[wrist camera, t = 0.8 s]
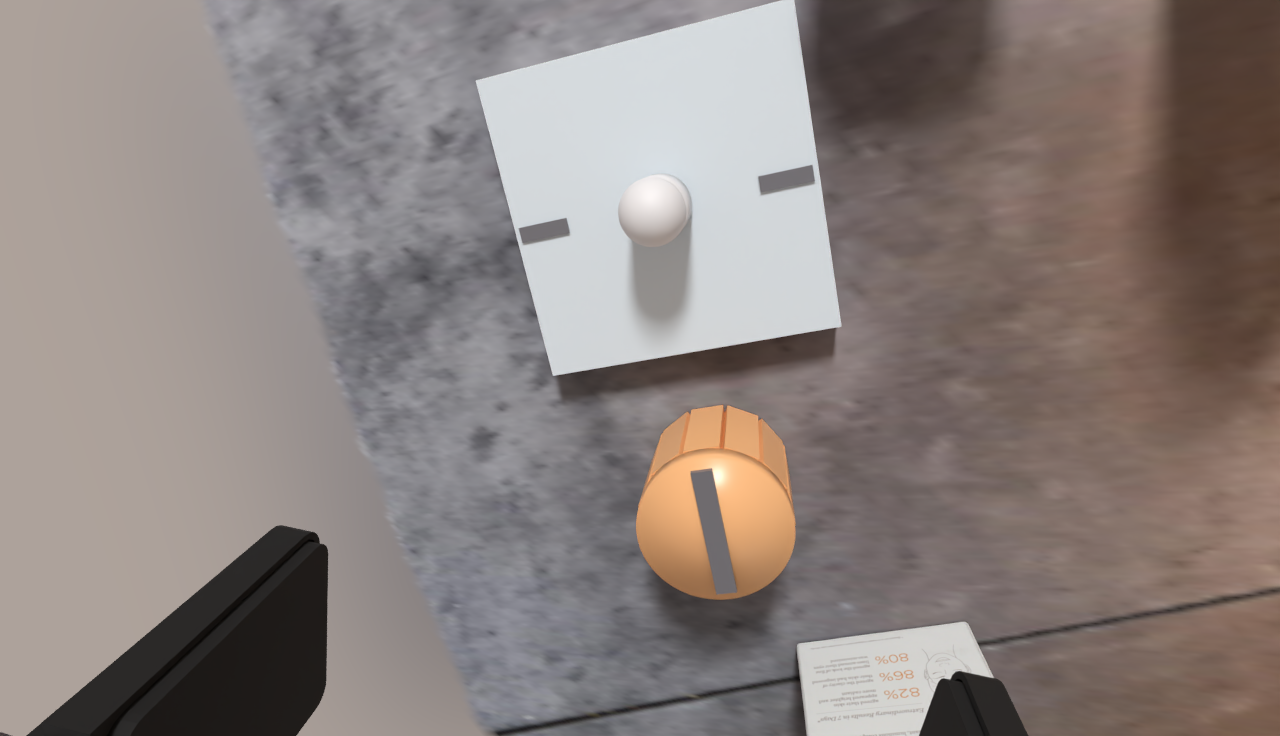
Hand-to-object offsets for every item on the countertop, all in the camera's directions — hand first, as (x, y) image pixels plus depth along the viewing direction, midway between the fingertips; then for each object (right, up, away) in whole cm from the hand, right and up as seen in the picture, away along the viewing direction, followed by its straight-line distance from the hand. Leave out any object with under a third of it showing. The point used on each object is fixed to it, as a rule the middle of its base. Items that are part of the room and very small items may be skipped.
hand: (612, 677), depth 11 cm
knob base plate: (+1, +11, +18) cm, 22 cm away
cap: (+4, 0, +22) cm, 22 cm away
